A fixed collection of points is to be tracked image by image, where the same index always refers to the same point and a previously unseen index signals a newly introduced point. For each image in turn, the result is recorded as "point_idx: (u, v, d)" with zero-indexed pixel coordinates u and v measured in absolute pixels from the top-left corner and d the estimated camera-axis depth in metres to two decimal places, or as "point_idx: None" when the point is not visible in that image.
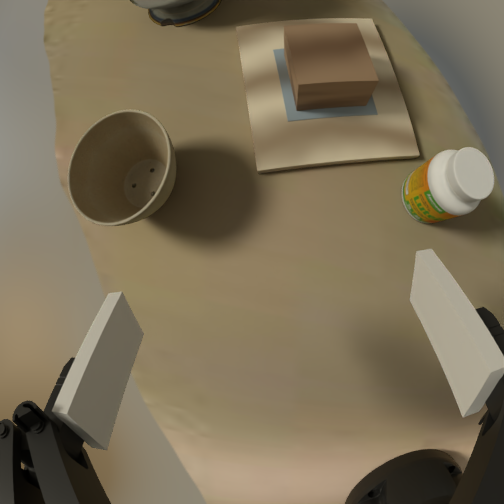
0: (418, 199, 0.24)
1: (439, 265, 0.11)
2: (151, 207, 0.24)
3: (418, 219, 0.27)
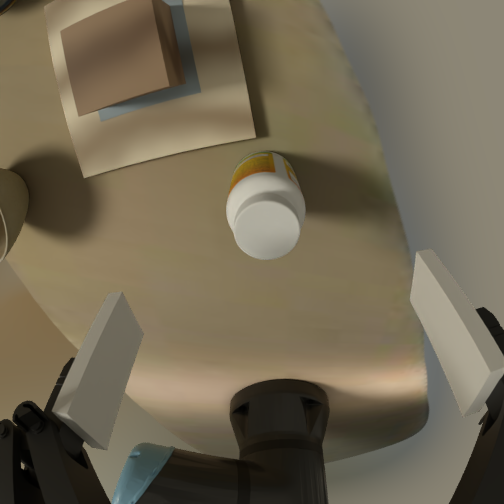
0: None
1: (439, 265, 0.11)
2: (9, 249, 0.24)
3: None
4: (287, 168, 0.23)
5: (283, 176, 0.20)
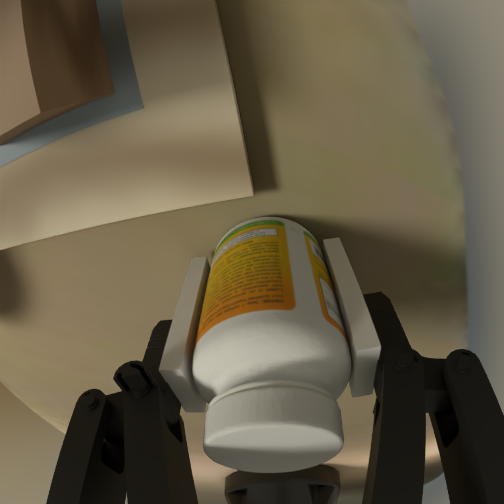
0: None
1: (340, 252, 0.13)
2: None
3: None
4: (316, 269, 0.12)
5: (313, 318, 0.09)
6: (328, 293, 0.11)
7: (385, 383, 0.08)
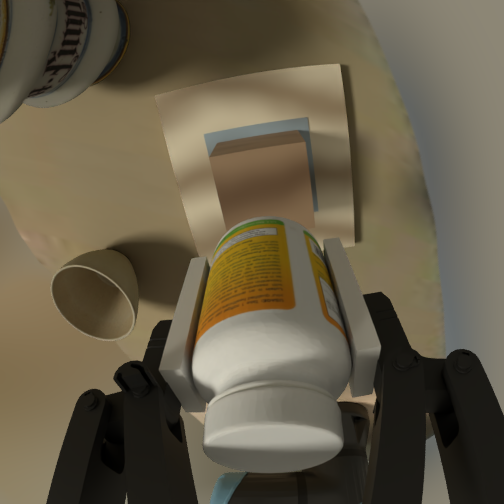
0: None
1: (340, 252, 0.13)
2: None
3: None
4: (316, 269, 0.12)
5: (313, 317, 0.09)
6: (328, 292, 0.11)
7: (385, 383, 0.08)
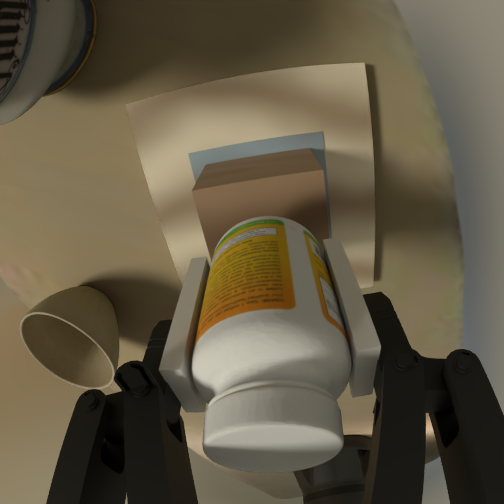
0: None
1: (340, 252, 0.13)
2: None
3: None
4: (316, 269, 0.12)
5: (313, 317, 0.09)
6: (328, 292, 0.11)
7: (385, 383, 0.08)
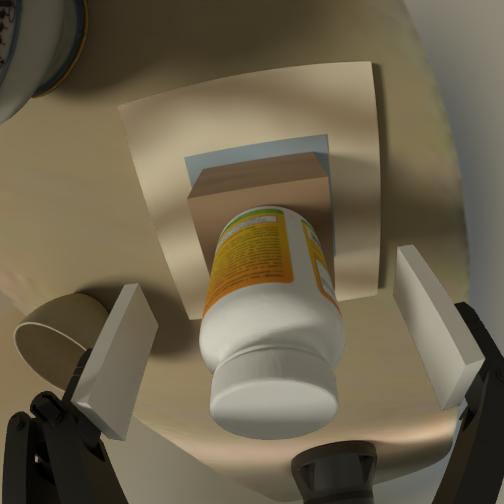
0: None
1: (419, 260, 0.12)
2: None
3: None
4: (312, 251, 0.13)
5: (309, 290, 0.10)
6: (323, 272, 0.12)
7: (487, 389, 0.06)
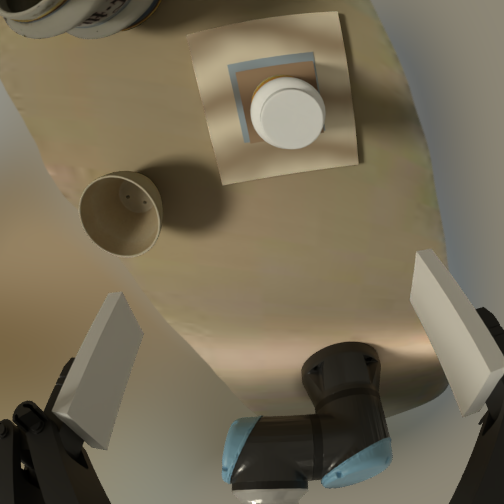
0: None
1: (439, 265, 0.11)
2: None
3: None
4: None
5: None
6: None
7: None
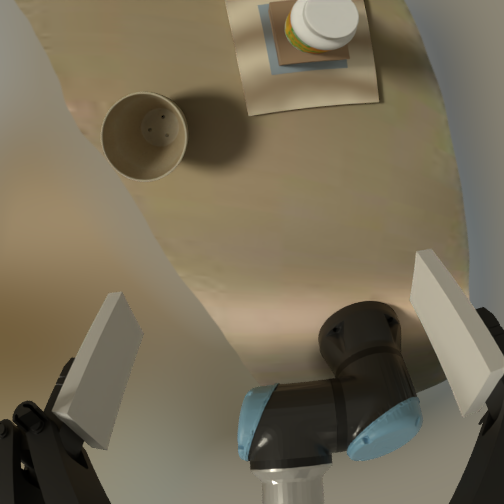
0: (290, 34, 0.23)
1: (439, 265, 0.11)
2: None
3: (300, 50, 0.26)
4: None
5: None
6: None
7: None
